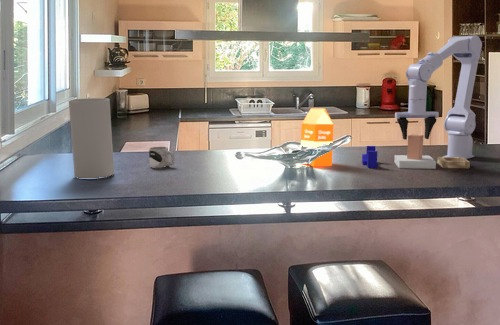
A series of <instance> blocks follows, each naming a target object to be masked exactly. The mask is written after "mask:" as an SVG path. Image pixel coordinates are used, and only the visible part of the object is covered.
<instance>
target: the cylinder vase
mask: <svg viewBox="0 0 500 325" xmlns="http://www.w3.org/2000/svg"><path fill="white" fill-rule="evenodd" d="M110 101H111V100H110V98H105V97H103V98H102V97H100V98H99V97H95V98H94V97H92V98H91V97H90V98H88V97H87V98H74V99H69V100H68V109H69V122H70V134H71V145H72V146H71V148H72V149H71V150H72V160H73V170H74V171H73V172H74V177H75V178H76V177H78V178H99V177H106V176H110V175H112V174H113V175H115V168H114V167H115V165H114V164H115V163H114V149H113V148H114V147H113V133H112V120H111V119H112V118H111V117H112V116H111V102H110ZM113 175H112V176H113ZM78 178H77V179H78Z"/></svg>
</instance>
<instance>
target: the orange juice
mask: <svg viewBox="0 0 500 325" xmlns="http://www.w3.org/2000/svg"><path fill="white" fill-rule="evenodd" d="M300 131H301V132H300V133H301V134H300V136H301V137H300V148H301V147H302V146H303V147H313V148H317V147H319V146H321V145H323V144H326V145H329V144H330V143H334V122H333V121H332V118H331V117H330V114H329V113H328V111H327V109H326V107H323V108H322V107H311V108H310V110H309V111H308V112H307V114H306V116H305V117H304V119H303V121H302V122H301V130H300ZM332 165H333V149H332V150H331V151H330V152H328V153H326V154H324V155H322V156H320V157H318V158H316V159H315V160H314V161H312V162H311V166H310V167H331V166H332Z"/></svg>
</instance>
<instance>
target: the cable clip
mask: <svg viewBox="0 0 500 325" xmlns="http://www.w3.org/2000/svg"><path fill="white" fill-rule="evenodd" d="M361 164H362V166H367V169H368V168H373V169H378V151H377V150H376V145H366V153H362V154H361Z"/></svg>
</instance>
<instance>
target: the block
mask: <svg viewBox="0 0 500 325" xmlns="http://www.w3.org/2000/svg"><path fill="white" fill-rule="evenodd" d="M423 152H424V134H414V133H413V134H409V135H407V152H406V155H407V159H416V160H419V159H421V158H422V155H424V154H423Z"/></svg>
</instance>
